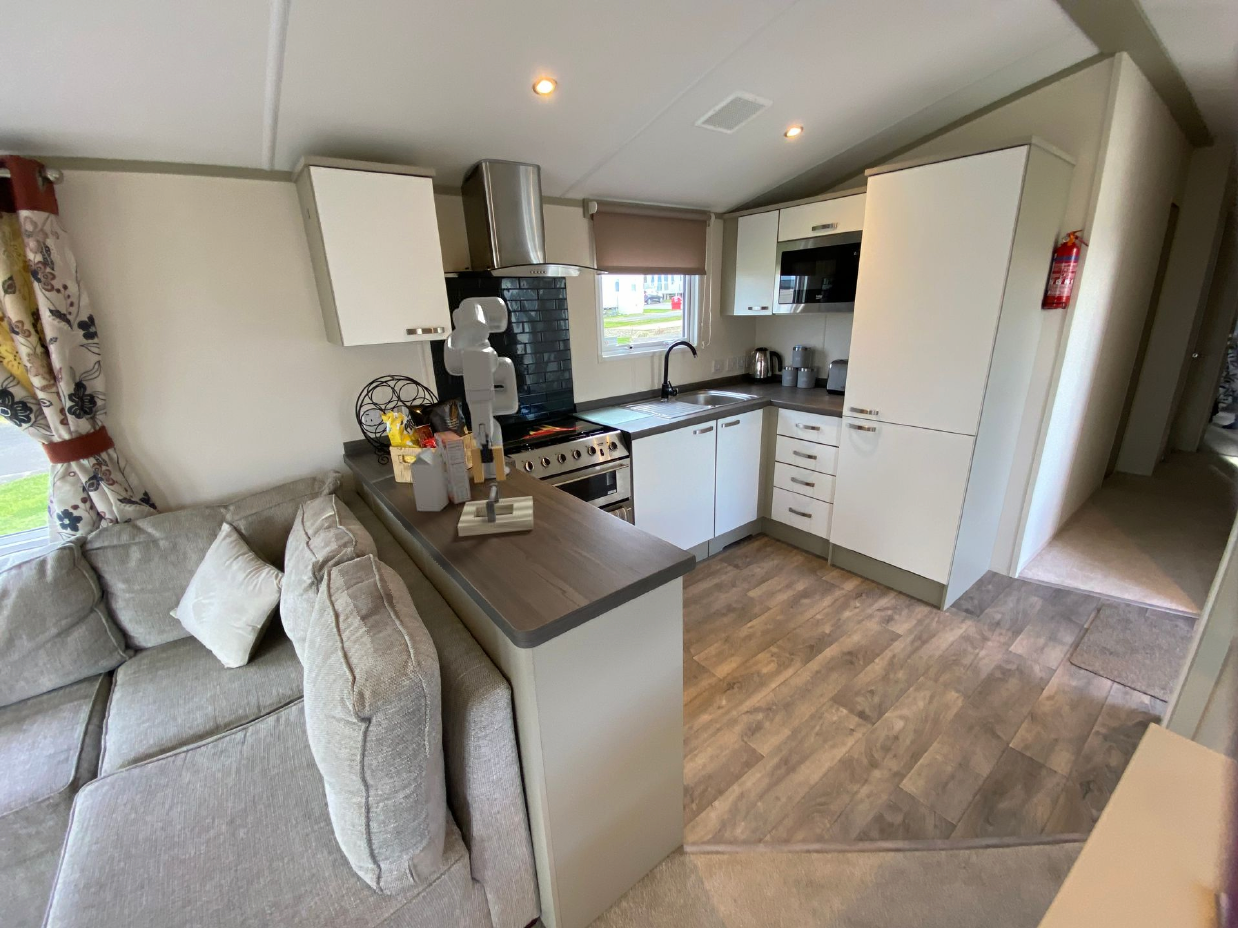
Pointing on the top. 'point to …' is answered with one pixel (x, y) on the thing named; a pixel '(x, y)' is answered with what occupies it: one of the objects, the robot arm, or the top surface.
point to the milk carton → (429, 481)
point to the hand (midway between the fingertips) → (488, 460)
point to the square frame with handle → (493, 507)
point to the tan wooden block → (479, 467)
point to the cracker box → (454, 466)
